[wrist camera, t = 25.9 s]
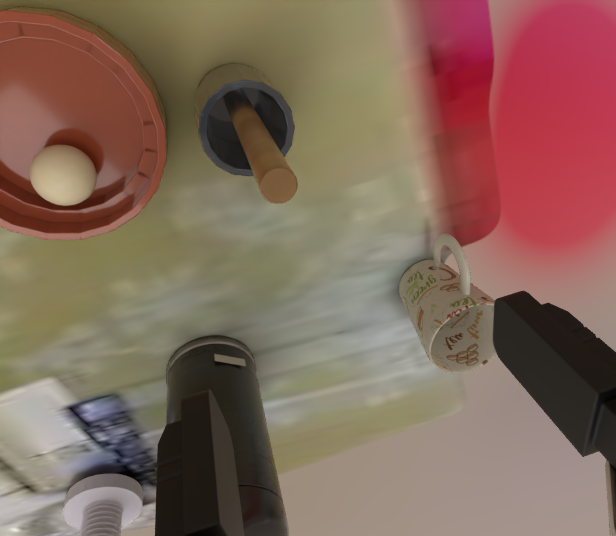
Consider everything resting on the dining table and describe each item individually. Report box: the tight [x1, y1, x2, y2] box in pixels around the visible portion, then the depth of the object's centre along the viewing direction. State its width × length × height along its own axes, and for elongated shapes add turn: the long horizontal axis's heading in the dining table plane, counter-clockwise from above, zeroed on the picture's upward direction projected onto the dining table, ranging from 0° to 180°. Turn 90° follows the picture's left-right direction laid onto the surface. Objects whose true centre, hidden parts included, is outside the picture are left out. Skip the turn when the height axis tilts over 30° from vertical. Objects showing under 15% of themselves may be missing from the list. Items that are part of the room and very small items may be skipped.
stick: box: [225, 89, 298, 204], centre depth 29 cm, size 2×2×18 cm
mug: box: [399, 233, 497, 373], centre depth 47 cm, size 8×13×10 cm, turn 8°
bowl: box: [0, 7, 167, 240], centre depth 33 cm, size 15×15×4 cm
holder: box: [195, 63, 295, 176], centre depth 35 cm, size 6×6×7 cm
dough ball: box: [29, 145, 97, 206], centre depth 35 cm, size 4×4×4 cm
